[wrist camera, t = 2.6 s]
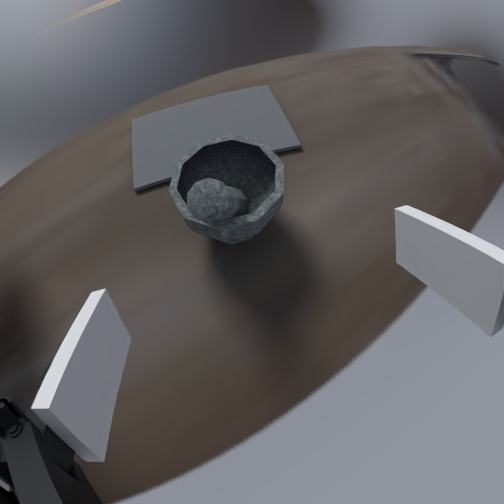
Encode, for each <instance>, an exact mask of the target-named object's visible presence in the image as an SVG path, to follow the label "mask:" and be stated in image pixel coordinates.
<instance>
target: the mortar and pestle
mask: <svg viewBox="0 0 504 504" xmlns="http://www.w3.org/2000/svg"><path fill="white" fill-rule="evenodd" d="M169 193H170V195H171V197H172V199H173V201H174V203H175V204H176V206H177V208H178V210H179V211H180V213H181V215H182V217H183V218H184V220H185V222H186V223H187V225H188V226H189V227H190V228H191V229H192V230H193V231H194V232H197V233H200V234H202V235H205V236H208V237H211V238H214V239H216V240H219V241H222V242H226V243H228V244H236V243H240V242H244V241H248V240H251V239H252V238H253V237H254V235H256V234H258V233H259V232H260V231H261V230H262V229H263V228H264V227H265V226H266V225H267V223H268V222H269V221H270V220H271V219H272V218H273V217H274V216H275V215H276V214H277V212H278V211H279V210H280V208H281V205H282V203H283V193H284V163H283V162H282V161H281V160H280V158H279V157H278V156H277V155H276V154H275V153H274V152H273V151H272V150H271V149H270V148H269V147H268V146H267V144H266V143H265V142H263V141H259V140H255V139H251V138H247V137H243V136H239V135H235V134H231V135H226V136H222V137H217V138H213V139H209V140H205V141H201V142H199V143H198V144H197V145H196V146H194V147H193V148H192V149H191V150H190V151H189V152H187V153H186V154H185V155H184V156H183V157H182V158H181V159H179V160H178V161H177V162H176V164H175V168H174V171H173V175H172V179H171V183H170V187H169Z"/></svg>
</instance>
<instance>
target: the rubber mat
mask: <svg viewBox="0 0 504 504" xmlns="http://www.w3.org/2000/svg"><path fill="white" fill-rule="evenodd" d="M231 134H235V135H239V136H243V137H247V138H251V139H255V140H259V141H263V142H265V143H266V144H267V146H268V147H269V148H270V149H271V150H272V151H273V152H274V153H278V152H283V151H288V150H292V149H297V148H301V144H300V142H299V140H298V138H297V136H296V134H295V132H294V131H293V129H292V127H291V125H290V123H289V121H288V120H287V118H286V116H285V114H284V113H283V111H282V109H281V107H280V106H279V104H278V102H277V100H276V99H275V97H274V95H273V93H272V92H271V90H270V88H269V87H268V85H263V86H257V87H251V88H246V89H241V90H236V91H231V92H227V93H222V94H218V95H214V96H209V97H205V98H201V99H198V100H194V101H190V102H186V103H183V104H179V105H176V106H173V107H169V108H166V109H163V110H160V111H156V112H153V113H150V114H147V115H144V116H141V117H139V118H136V119H133V120H132V163H133V184H134V190H135V192H137V191H140V190H143V189H146V188H149V187H152V186H155V185H158V184H161V183H164V182H167V181H171V179H172V175H173V171H174V168H175V164H176V162H177V161H178V160H179V159H181V158H182V157H183V156H184V155H185V154H186V153H187V152H189V151H190V150H191V149H192V148H193V147H194V146H196V145H197V144H198V143H199V142H201V141H205V140H209V139H213V138H217V137H222V136H226V135H231Z"/></svg>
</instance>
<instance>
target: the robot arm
mask: <svg viewBox="0 0 504 504" xmlns="http://www.w3.org/2000/svg"><path fill="white" fill-rule="evenodd" d="M395 228H396V262H397V263H398V264H399V265H401V266H402V267H403V268H405V269H406V270H407V271H409V272H410V273H412V274H413V275H414V276H416V277H417V278H418V279H420V280H421V281H422V282H423V283H425V284H426V285H427V286H429V287H430V288H431V289H433V290H434V291H435V292H436V293H438V294H439V295H440V296H442V297H443V298H444V299H445V300H447V301H448V302H449V303H450V304H452V305H453V306H454V307H455V308H457V309H458V310H459V311H460V312H462V313H463V314H464V315H465V316H466V317H467V318H469V319H470V320H471V321H472V322H474V323H475V324H476V325H477V326H478V327H479V328H480V329H482V330H483V331H484V332H485V333H486V334H487V335H489V336H490V337H492V336H493V335H494V334H496V333H497V332H498V331H499V330H501V329H502V328H503V325H504V251H503V250H501V249H500V248H498V247H496V246H494V245H491V244H490V243H488V242H486V241H484V240H482V239H480V238H478V237H476V236H474V235H472V234H470V233H468V232H466V231H464V230H462V229H460V228H458V227H456V226H453V225H451V224H449V223H447V222H445V221H442V220H440V219H438V218H436V217H434V216H431V215H429V214H427V213H424V212H422V211H420V210H417V209H415V208H412V207H410V206H408V205H406V206H402V207H399V208H395ZM130 342H131V337H130V335H129V333H128V331H127V330H126V328H125V326H124V324H123V322H122V320H121V318H120V316H119V314H118V312H117V310H116V308H115V306H114V304H113V302H112V300H111V298H110V296H109V294H108V292H107V290H106V289H102V290H98V291H95V292H92V293H91V294H90V296H89V298H88V299H87V301H86V302H85V304H84V306H83V307H82V309H81V311H80V313H79V314H78V316H77V318H76V319H75V321H74V323H73V325H72V326H71V328H70V330H69V332H68V334H67V335H66V337H65V339H64V341H63V343H62V345H61V347H60V348H59V350H58V352H57V354H56V356H55V358H54V360H53V361H52V362H51V363H50V364H49V366H48V367H47V368H46V370H45V372H44V374H43V376H42V380H40V382H39V384H38V388H36V390H35V393H34V395H33V397H32V399H31V401H30V404H29V406H28V408H27V411H26V413H25V414H24V412H23V411H22V410H21V409H20V408H19V407H18V406H17V405H16V404H15V402H14V401H13V400H12V399H11V398H10V397H9V396H7V395H3V396H0V479H1V480H2V481H3V482H5V483H6V484H7V485H9V487H10V491H7V490H5V489H4V488H2V487H1V486H0V504H103V503H102V501H101V500H100V498H99V497H98V495H97V494H96V492H95V491H94V489H93V488H92V486H91V485H90V483H89V481H88V480H87V478H86V476H85V475H84V473H83V471H82V470H81V468H80V466H79V465H78V464H77V463H76V462H75V461H74V460H73V458H74V454H75V453H76V454H78V455H79V456H80V457H81V458H82V459H84V460H85V461H87V462H104V460H105V454H106V448H107V442H108V437H109V432H110V426H111V421H112V416H113V412H114V407H115V402H116V398H117V393H118V389H119V385H120V381H121V377H122V372H123V369H124V365H125V361H126V357H127V353H128V349H129V346H130Z"/></svg>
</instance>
